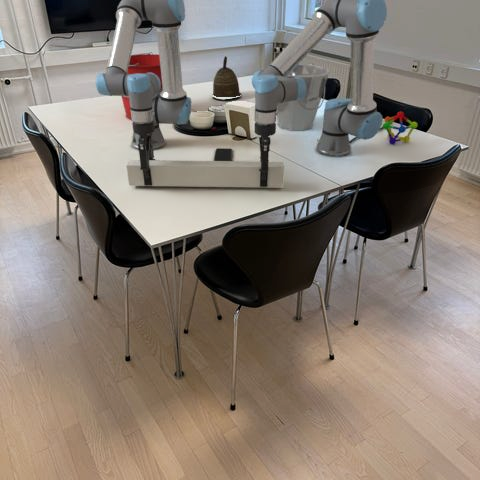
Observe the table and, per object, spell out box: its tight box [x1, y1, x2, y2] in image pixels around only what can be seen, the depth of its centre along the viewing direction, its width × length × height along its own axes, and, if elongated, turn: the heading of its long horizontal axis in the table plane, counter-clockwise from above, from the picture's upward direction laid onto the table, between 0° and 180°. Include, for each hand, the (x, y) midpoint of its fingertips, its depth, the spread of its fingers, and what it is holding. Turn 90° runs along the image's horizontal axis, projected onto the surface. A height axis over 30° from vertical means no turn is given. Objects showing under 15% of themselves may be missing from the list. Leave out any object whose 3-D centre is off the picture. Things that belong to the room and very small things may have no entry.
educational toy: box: [382, 110, 418, 145], centre depth 207 cm, size 16×13×15 cm
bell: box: [212, 56, 242, 97], centre depth 278 cm, size 19×26×20 cm
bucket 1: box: [120, 51, 163, 121], centre depth 240 cm, size 35×35×30 cm
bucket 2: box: [276, 63, 330, 131], centre depth 226 cm, size 30×30×28 cm
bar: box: [126, 159, 285, 189], centre depth 166 cm, size 58×5×8 cm, turn 89°
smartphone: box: [213, 147, 233, 161], centre depth 195 cm, size 7×1×15 cm
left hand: (149, 181), depth 168 cm, fingers closed on bar, 5 cm apart
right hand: (263, 182), depth 167 cm, fingers closed on bar, 5 cm apart
